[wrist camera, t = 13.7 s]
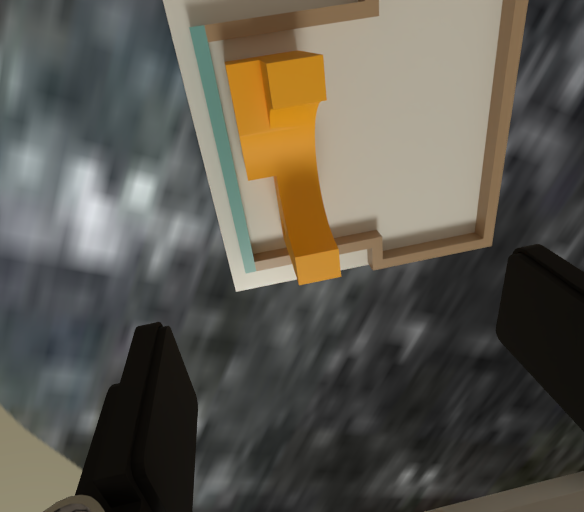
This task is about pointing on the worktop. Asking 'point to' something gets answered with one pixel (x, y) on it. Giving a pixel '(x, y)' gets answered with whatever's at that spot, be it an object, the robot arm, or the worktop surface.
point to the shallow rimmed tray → (362, 122)
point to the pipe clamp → (287, 149)
